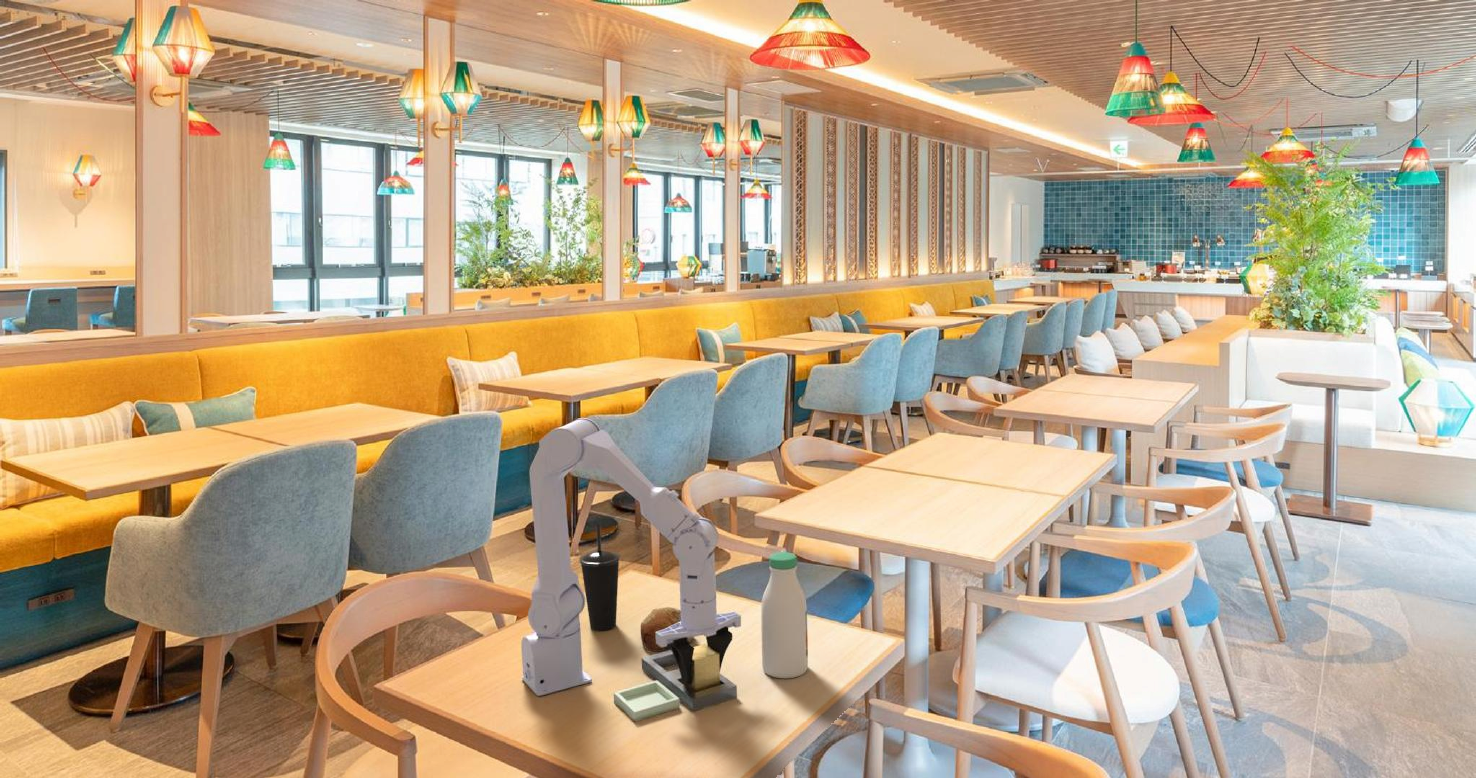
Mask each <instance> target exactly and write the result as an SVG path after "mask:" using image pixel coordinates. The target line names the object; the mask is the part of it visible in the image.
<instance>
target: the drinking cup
mask: <svg viewBox="0 0 1476 778" xmlns="http://www.w3.org/2000/svg"><path fill="white" fill-rule="evenodd" d="M595 528H596V542H597V543H596V544H597V549H596V550H592V551H589V552H586V553H584V554H582V555H581V556H580V557H579V559H578V561H579V564H580V565H581V566H580V567H581V572H582V580H583V586H584V595H585V601H586V605H587V611H588V621H589V626H590V627H589V628H590V629H591V630H593V631H596V632H605V631H610V630H613V629H615V628H616V626H617V609H618V608H617V607H618V587H619V568H620V566H619V564H620V560H621V555H620V554H619V553H618V552H615V551H612V550H611V551H610V550H608V549H602V539H601V537H602V536H601V524H599V523H597V524H596V527H595Z"/></svg>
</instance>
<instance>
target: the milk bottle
mask: <svg viewBox="0 0 1476 778" xmlns="http://www.w3.org/2000/svg"><path fill="white" fill-rule="evenodd" d="M797 557H798V556H797V555H796V554H794V553H791V552H787V551H782V552H780V551H779V552H774V553H772V554H770V555H769V563H768V564H769V570H770V577H769V580H768V583H767V586H766V588H765V590H764V593H763V595H762V599H761V616H760V618H761V624H760V625H761V626H760V627H761V628H760V631H761V666H762V670H763V672H764V673H765V674H766V675H768V676H770V677H773V678H776V679H793V678H797V677H800V676H802V675H804V674H805V673H806V672H807V670H808V667H809V659H808V658H809V652H808V651H809V649H808V647H809V646H808V645H809V644H808V643H809V642H808V640H809V639H808V636H809V635H808V611H807V610H808V608H807V606H808V605H807V601H806V595H805V593H804V591H803V588H802V586H801V584H800V582H799V579H798V576H797V569H798V558H797Z"/></svg>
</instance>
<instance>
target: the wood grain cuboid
mask: <svg viewBox="0 0 1476 778" xmlns="http://www.w3.org/2000/svg"><path fill="white" fill-rule="evenodd" d="M692 647H693V648H694V652H693V658H692V683H691V684H689V685H687V684H686V683H685V682H683V681H682V684H683V685H684V686H686V687H687V688H688V689H689V690H691V691H692V692H693V693H696V692H699V691H702V690H706V689H709V688H712V687H715V686H719V685H720V674H721V669H720V665H719V653H718V652H716V651H715V650H713V649H712V648H710V647H709V646H707V643H706V644H705V643H704V644H700V645H696V646H692Z"/></svg>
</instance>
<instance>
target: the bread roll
mask: <svg viewBox="0 0 1476 778" xmlns="http://www.w3.org/2000/svg"><path fill="white" fill-rule="evenodd" d="M680 621H681V610H680V609H678V608H675V607H670V606H667V607H660V608H659V607H658V608H653V609H652V610H651V612H650V613H649V614H648V615H647V616H646V617H645V618H644V619H643V620H642V622H641V623H640V639H641V644H642V646H643V647H644V648H645V647H646V649H647V648H648V650H649V649H650V650H649V651H653V652H665V651H669V650H671V649H670V647H669V646H668V644H667V646H666V647H660V646H659V645H658V644H656V633H655V632H657V631H660V630H663V629H665V628H667V627H670V626H672V625H674V624H676V623H678V622H680ZM694 638H695V637H692V638H688V639H687V641H689V644H690V643H691V642H692V640H693V639H694Z"/></svg>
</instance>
